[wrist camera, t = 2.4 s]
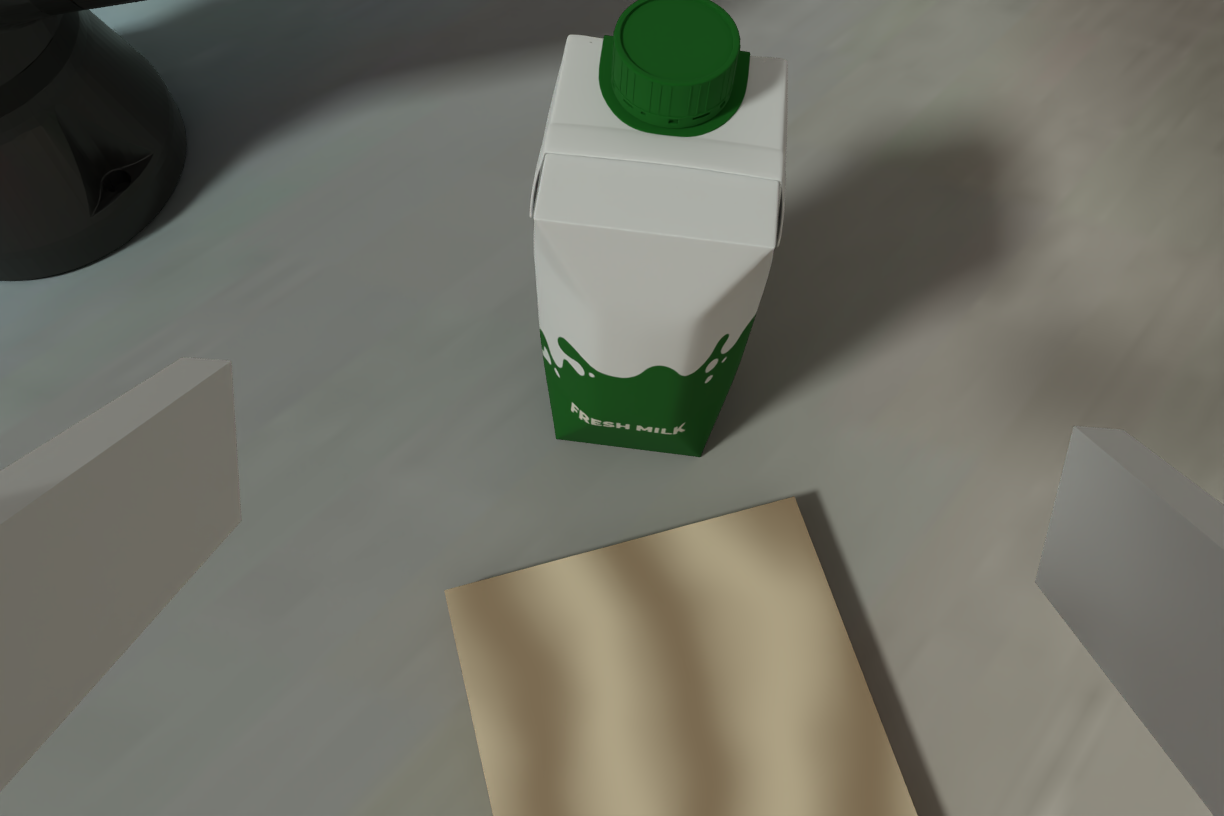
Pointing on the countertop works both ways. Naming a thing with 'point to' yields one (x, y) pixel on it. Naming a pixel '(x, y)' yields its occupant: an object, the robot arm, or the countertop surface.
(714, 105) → the milk carton
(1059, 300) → the countertop surface
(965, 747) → the countertop surface
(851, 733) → the oak board
